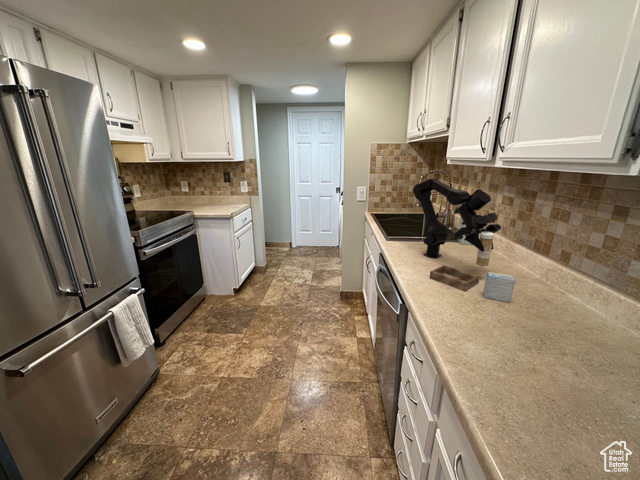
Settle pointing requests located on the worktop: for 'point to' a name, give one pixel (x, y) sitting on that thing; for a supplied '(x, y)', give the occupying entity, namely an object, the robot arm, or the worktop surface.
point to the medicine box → (499, 286)
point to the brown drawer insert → (462, 283)
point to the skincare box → (463, 235)
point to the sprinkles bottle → (485, 248)
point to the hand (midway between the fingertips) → (487, 250)
